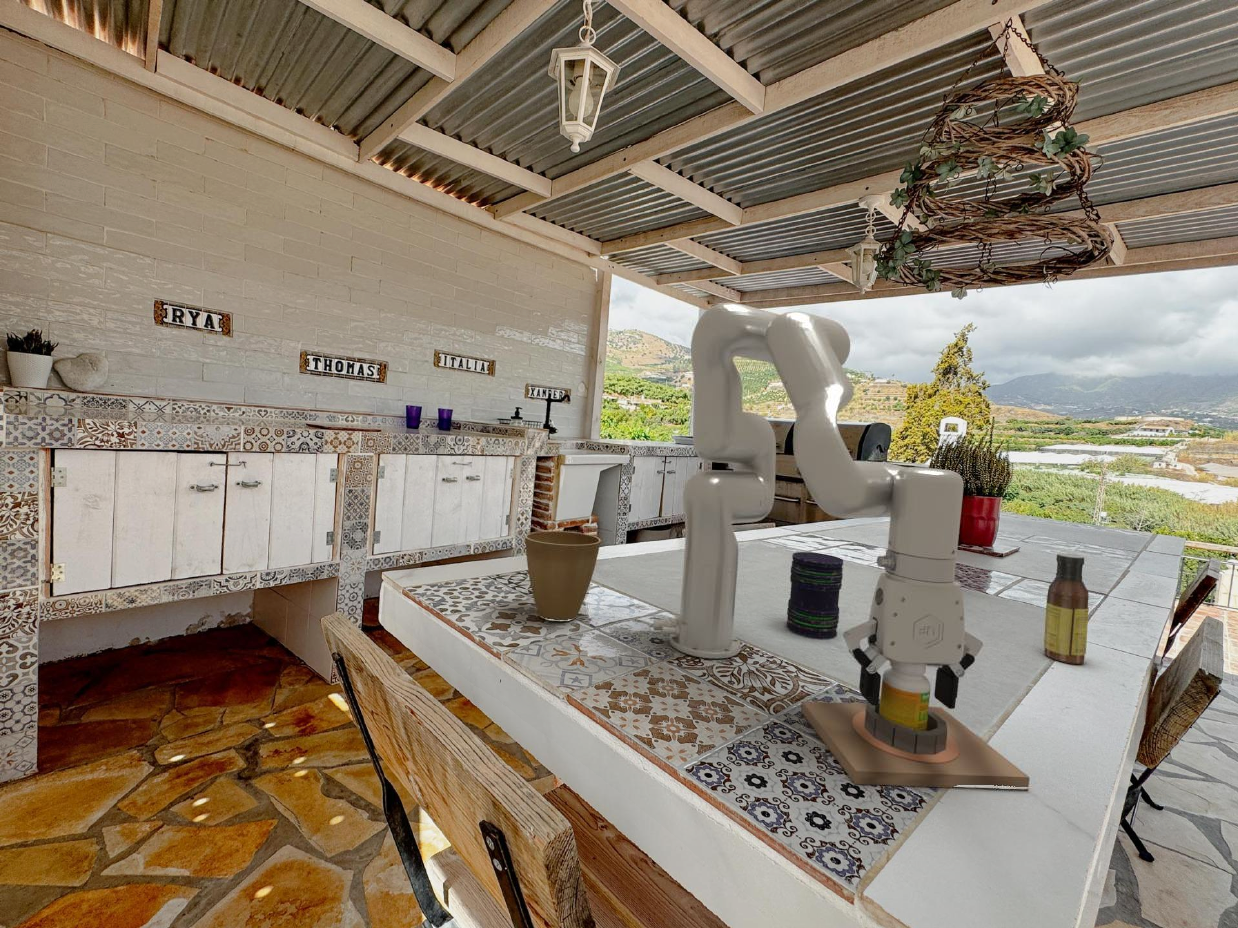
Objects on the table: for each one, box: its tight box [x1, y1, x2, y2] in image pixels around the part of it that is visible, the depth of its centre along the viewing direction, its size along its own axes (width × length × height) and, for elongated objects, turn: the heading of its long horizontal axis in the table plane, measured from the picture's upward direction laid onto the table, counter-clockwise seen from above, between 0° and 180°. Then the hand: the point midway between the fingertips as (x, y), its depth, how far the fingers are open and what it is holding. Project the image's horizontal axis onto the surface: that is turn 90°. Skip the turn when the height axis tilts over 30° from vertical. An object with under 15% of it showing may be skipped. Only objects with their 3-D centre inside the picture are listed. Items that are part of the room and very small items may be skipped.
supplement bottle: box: [879, 661, 932, 731], centre depth 70 cm, size 5×5×10 cm
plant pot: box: [524, 530, 602, 620], centre depth 110 cm, size 15×15×16 cm
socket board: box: [800, 698, 1030, 788], centre depth 70 cm, size 20×16×4 cm
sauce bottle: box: [1043, 552, 1090, 665], centre depth 105 cm, size 7×6×20 cm
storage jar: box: [786, 551, 844, 640], centre depth 112 cm, size 10×10×15 cm
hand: (906, 701), depth 70 cm, fingers open, 9 cm apart
